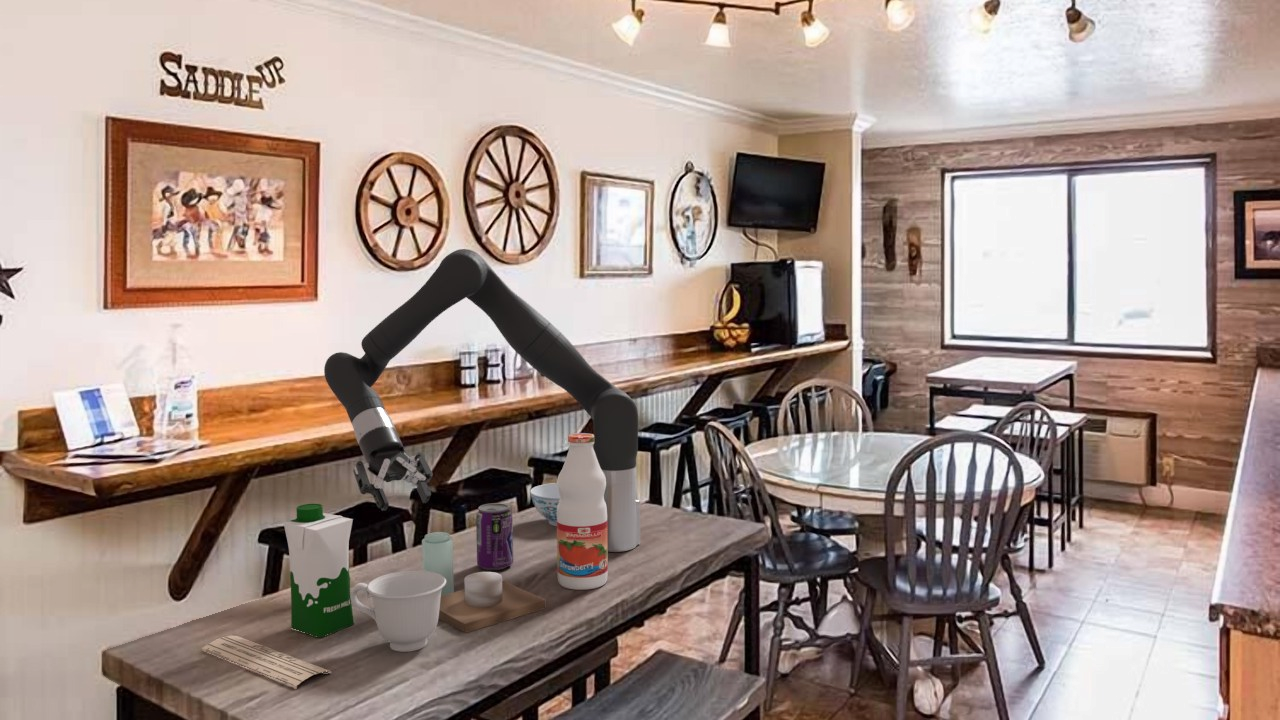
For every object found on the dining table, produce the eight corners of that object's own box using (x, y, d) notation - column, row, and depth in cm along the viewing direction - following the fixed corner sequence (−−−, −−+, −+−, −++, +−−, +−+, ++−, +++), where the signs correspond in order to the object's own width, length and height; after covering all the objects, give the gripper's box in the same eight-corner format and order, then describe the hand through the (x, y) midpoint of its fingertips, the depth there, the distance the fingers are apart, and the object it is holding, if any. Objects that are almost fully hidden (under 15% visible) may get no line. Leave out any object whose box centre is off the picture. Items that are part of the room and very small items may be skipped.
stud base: (500, 587, 169) (500, 558, 169) (545, 608, 159) (544, 577, 158) (422, 609, 158) (421, 578, 158) (465, 632, 148) (464, 600, 148)
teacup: (365, 629, 150) (363, 569, 149) (455, 629, 149) (454, 570, 148) (338, 660, 138) (336, 596, 137) (437, 661, 137) (435, 596, 136)
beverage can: (506, 573, 177) (505, 512, 176) (471, 571, 179) (470, 510, 177) (518, 561, 184) (517, 503, 183) (484, 559, 185) (483, 501, 184)
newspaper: (202, 655, 142) (201, 644, 141) (243, 640, 148) (243, 629, 147) (296, 694, 129) (295, 682, 128) (338, 675, 134) (337, 664, 134)
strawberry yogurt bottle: (607, 573, 177) (606, 430, 174) (607, 590, 167) (606, 439, 165) (558, 574, 176) (557, 430, 174) (556, 591, 167) (554, 440, 164)
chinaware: (517, 523, 212) (516, 490, 211) (563, 510, 223) (563, 479, 222) (563, 535, 202) (562, 501, 201) (609, 521, 213) (608, 488, 212)
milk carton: (326, 613, 157) (321, 498, 155) (362, 623, 152) (358, 506, 150) (282, 630, 149) (277, 510, 148) (319, 642, 145) (314, 518, 143)
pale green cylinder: (444, 586, 170) (442, 529, 169) (459, 593, 166) (458, 535, 165) (418, 593, 166) (416, 535, 165) (432, 601, 162) (431, 541, 161)
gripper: (348, 429, 173) (377, 499, 166) (416, 420, 183) (447, 487, 176) (337, 452, 178) (365, 522, 171) (404, 443, 187) (433, 508, 180)
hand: (406, 504), depth 173 cm, fingers open, 8 cm apart
